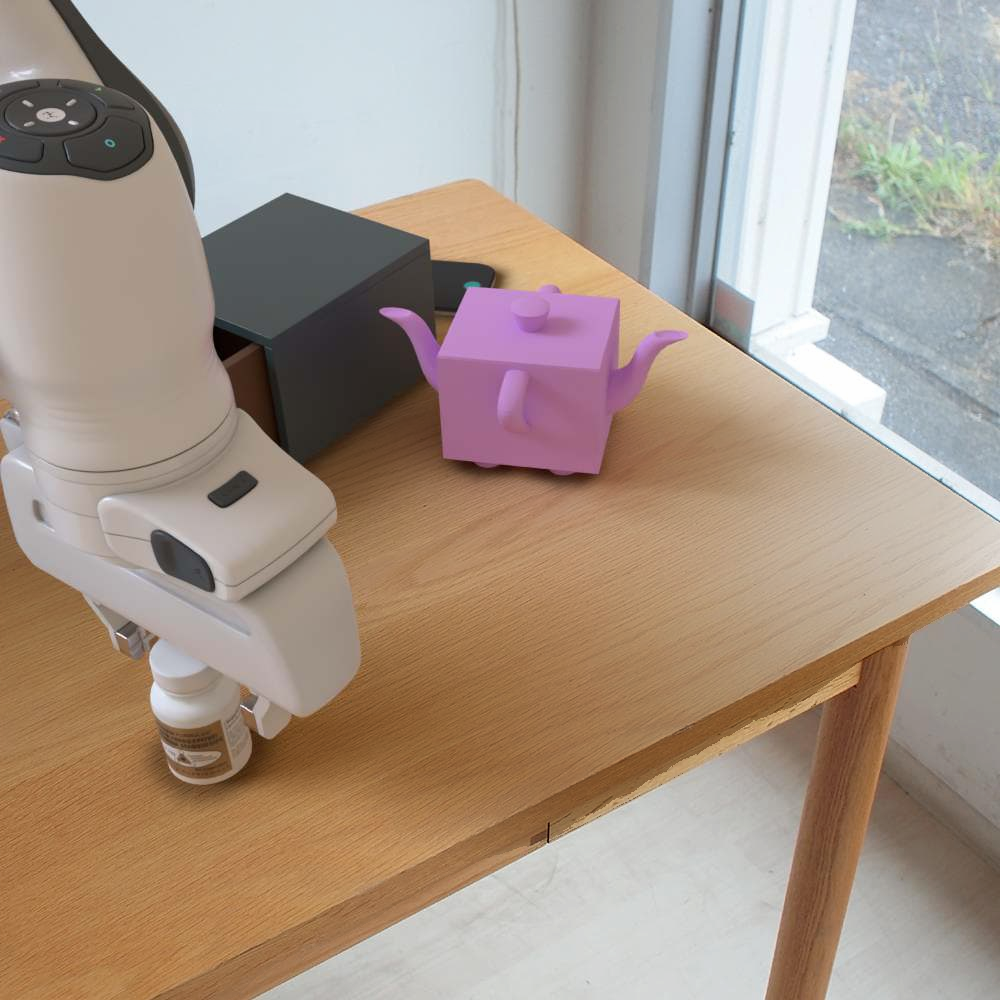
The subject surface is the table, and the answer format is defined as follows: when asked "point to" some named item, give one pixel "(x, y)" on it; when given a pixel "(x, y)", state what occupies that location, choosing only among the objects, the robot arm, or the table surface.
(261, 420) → the drawer
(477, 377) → the teapot
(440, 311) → the smartphone
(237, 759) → the pill bottle
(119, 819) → the table surface
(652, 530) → the table surface
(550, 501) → the table surface
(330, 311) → the cabinet
